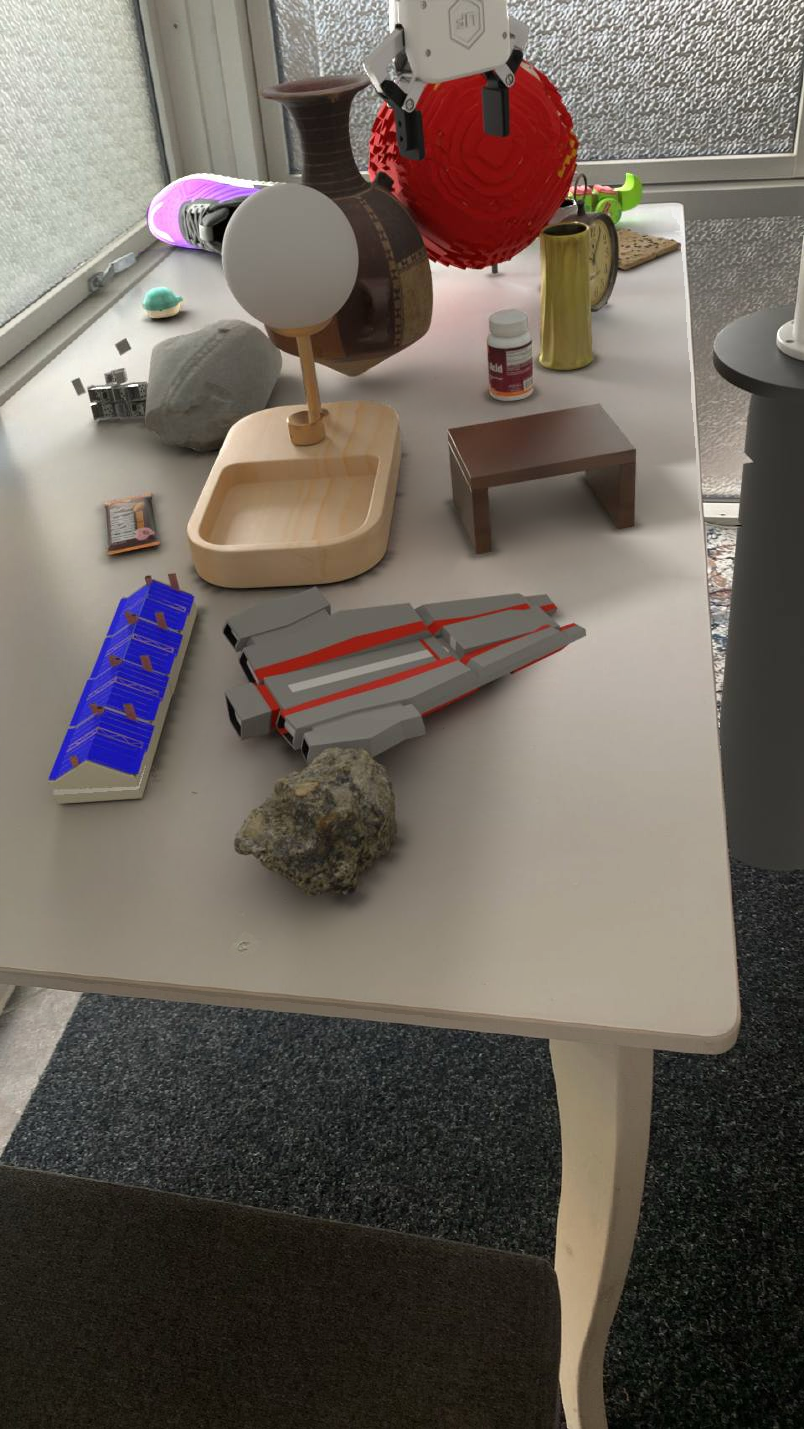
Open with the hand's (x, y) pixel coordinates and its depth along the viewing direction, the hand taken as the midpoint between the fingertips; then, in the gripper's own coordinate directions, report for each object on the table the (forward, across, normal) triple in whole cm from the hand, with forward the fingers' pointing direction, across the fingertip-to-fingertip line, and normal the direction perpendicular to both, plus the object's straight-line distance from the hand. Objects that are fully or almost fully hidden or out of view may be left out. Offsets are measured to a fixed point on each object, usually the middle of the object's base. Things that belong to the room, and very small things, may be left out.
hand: (455, 146), depth 103 cm
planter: (+26, +32, +22) cm, 46 cm away
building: (+26, -49, -23) cm, 60 cm away
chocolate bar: (+26, -38, +3) cm, 46 cm away
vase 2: (+26, +15, +3) cm, 30 cm away
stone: (+21, -26, +26) cm, 43 cm away
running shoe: (+21, +15, +81) cm, 85 cm away
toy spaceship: (+21, -32, -35) cm, 52 cm away
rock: (+24, -51, -50) cm, 75 cm away
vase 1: (+26, -3, +18) cm, 32 cm away
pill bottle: (+26, +6, 0) cm, 26 cm away
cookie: (+26, +46, +27) cm, 60 cm away
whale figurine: (+26, -9, +59) cm, 65 cm away
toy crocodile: (+26, +50, +40) cm, 69 cm away
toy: (+11, +24, +33) cm, 42 cm away
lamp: (+26, -23, -4) cm, 35 cm away
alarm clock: (+26, +26, +12) cm, 38 cm away
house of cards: (+21, -30, +28) cm, 46 cm away
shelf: (+26, -10, -22) cm, 35 cm away
